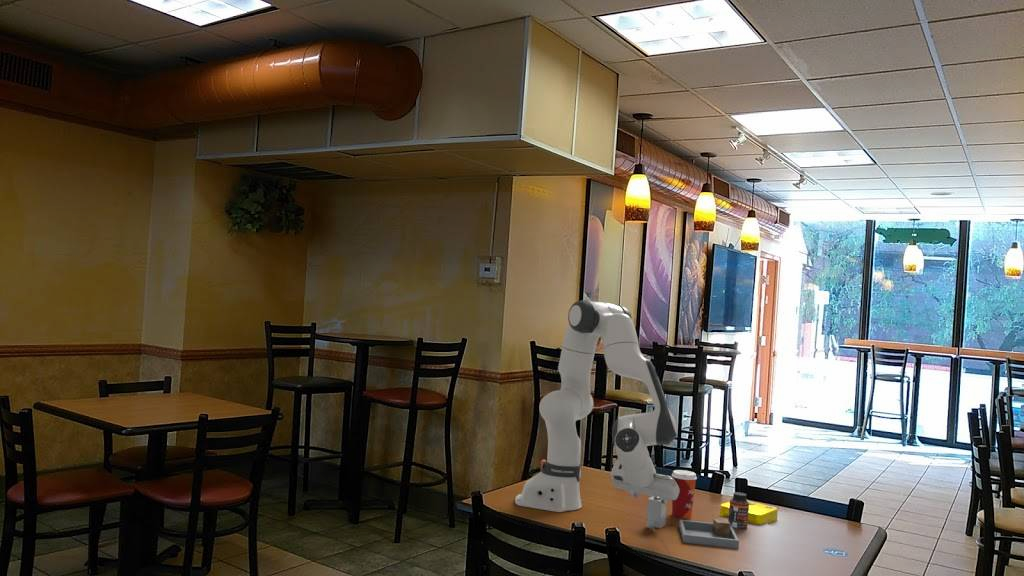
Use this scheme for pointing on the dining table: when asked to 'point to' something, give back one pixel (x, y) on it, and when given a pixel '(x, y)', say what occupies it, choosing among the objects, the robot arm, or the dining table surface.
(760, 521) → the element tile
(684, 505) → the coffee cup
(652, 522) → the steel part
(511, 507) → the dining table surface
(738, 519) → the supplement bottle
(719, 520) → the walnut block
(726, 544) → the tray
